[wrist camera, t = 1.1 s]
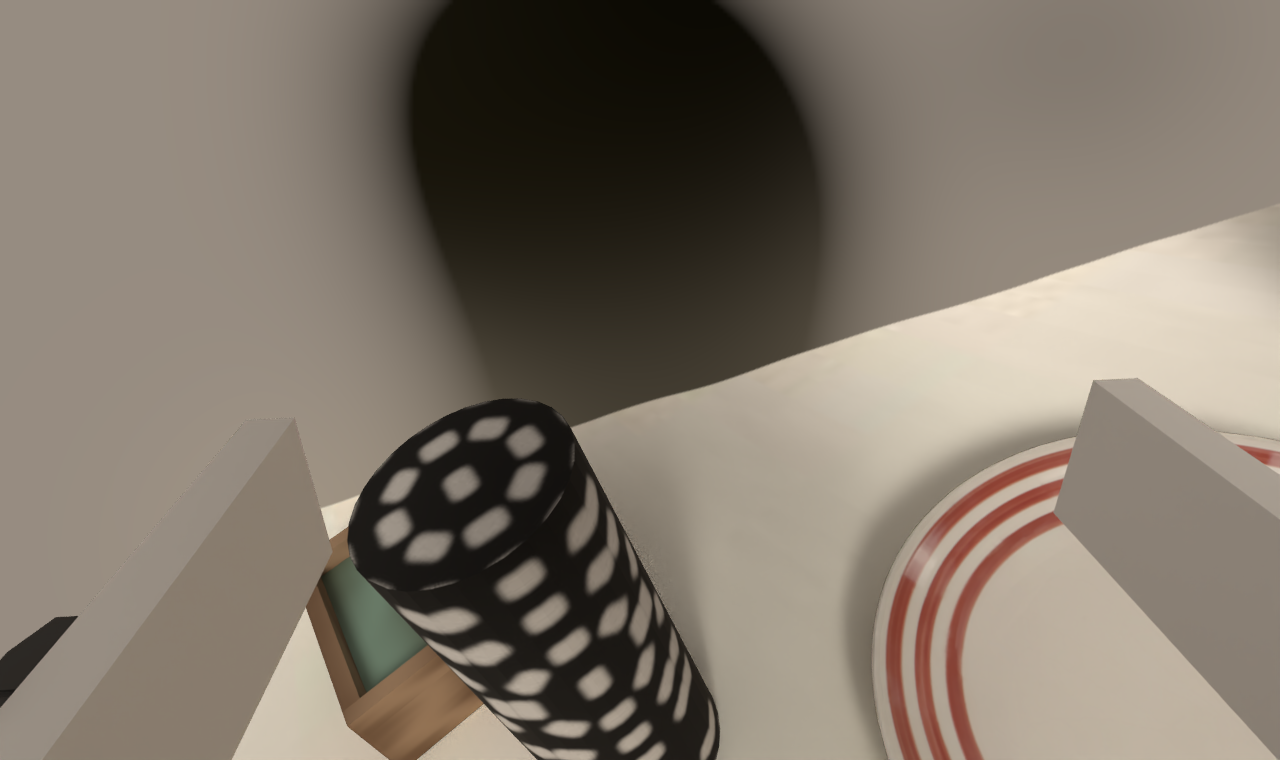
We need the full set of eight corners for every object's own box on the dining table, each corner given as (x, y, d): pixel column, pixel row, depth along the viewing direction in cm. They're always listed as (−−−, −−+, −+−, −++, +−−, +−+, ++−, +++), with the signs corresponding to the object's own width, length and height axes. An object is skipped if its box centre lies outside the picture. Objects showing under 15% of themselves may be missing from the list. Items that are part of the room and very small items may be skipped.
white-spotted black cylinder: (539, 726, 39) (327, 488, 26) (662, 630, 41) (519, 368, 28) (612, 871, 32) (378, 645, 20) (754, 749, 34) (619, 477, 22)
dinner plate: (1986, 783, 22) (2085, 738, 20) (1526, 1594, 16) (1601, 1644, 14) (1114, 396, 43) (1119, 355, 41) (762, 682, 37) (748, 649, 35)
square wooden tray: (507, 488, 54) (474, 438, 50) (604, 602, 43) (571, 548, 40) (339, 612, 50) (291, 566, 46) (403, 770, 39) (347, 726, 36)
